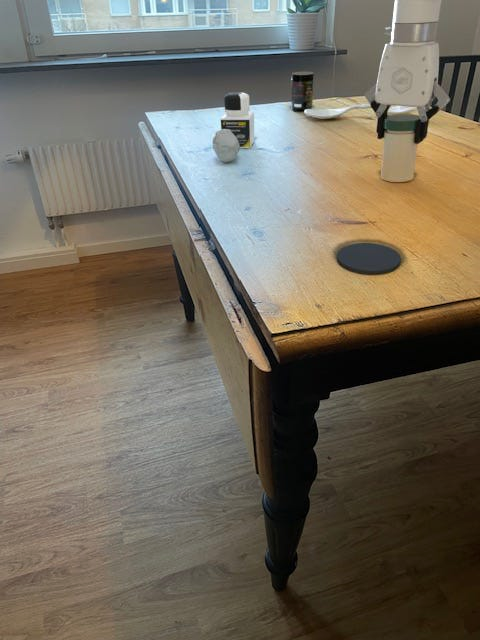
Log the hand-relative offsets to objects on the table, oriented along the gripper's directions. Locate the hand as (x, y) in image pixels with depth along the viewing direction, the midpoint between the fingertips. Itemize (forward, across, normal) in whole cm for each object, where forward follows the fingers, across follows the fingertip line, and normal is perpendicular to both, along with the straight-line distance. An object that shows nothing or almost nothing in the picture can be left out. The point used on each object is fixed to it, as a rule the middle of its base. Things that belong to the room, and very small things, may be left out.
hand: (400, 139), depth 97 cm
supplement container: (+7, -51, +46) cm, 69 cm away
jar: (+7, 0, 0) cm, 7 cm away
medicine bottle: (+7, -43, +4) cm, 44 cm away
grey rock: (+8, -37, -8) cm, 39 cm away
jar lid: (-4, 0, 0) cm, 4 cm away
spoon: (+8, -30, +45) cm, 55 cm away
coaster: (+8, +11, -36) cm, 38 cm away
